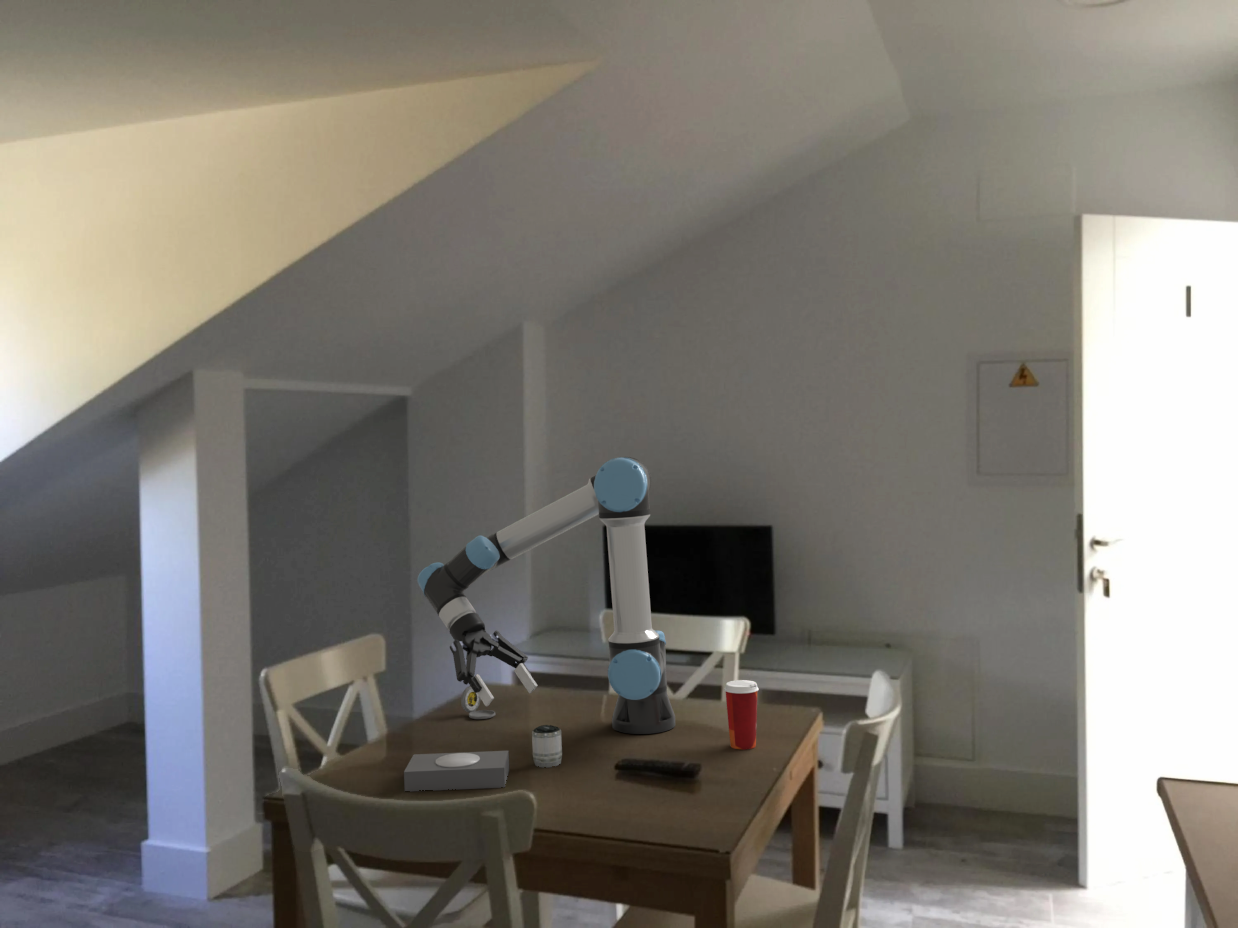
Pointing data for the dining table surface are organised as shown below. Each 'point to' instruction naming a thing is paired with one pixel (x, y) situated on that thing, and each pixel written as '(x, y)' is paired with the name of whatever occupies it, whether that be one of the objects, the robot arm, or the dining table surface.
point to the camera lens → (547, 746)
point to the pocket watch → (474, 705)
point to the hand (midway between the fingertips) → (512, 695)
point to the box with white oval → (457, 771)
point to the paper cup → (742, 713)
